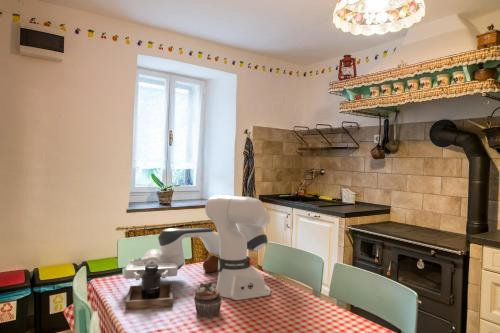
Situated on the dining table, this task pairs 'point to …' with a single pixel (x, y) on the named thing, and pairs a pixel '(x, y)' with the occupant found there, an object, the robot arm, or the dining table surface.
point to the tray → (138, 303)
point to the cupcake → (207, 301)
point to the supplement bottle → (151, 282)
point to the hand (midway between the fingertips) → (150, 277)
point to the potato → (211, 264)
